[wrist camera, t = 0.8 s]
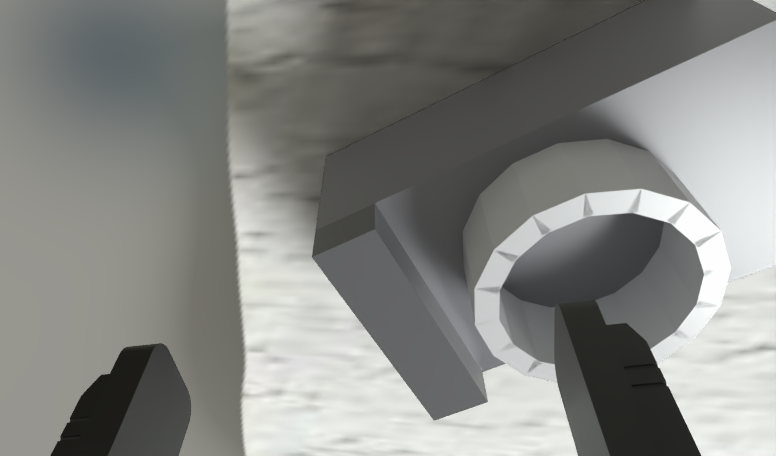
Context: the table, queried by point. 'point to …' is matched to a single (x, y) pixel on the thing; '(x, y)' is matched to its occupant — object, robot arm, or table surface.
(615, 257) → the camera body
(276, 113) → the table surface
